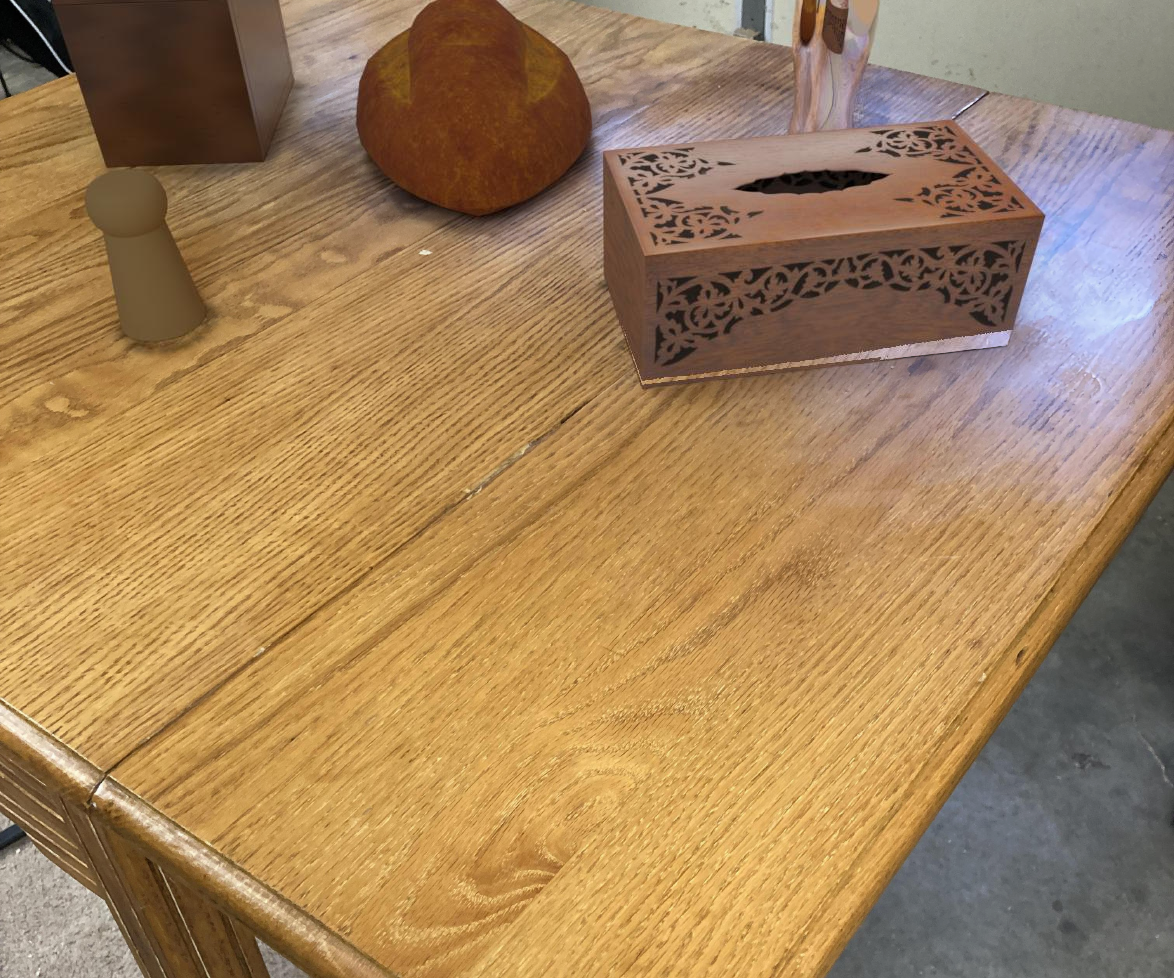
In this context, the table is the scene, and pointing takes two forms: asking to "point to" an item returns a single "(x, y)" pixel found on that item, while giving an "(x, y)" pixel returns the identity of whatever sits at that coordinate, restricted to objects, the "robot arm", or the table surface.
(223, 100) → the bronze square pillar
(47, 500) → the table surface
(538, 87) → the bread
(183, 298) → the cork
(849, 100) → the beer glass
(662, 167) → the tissue box cover
